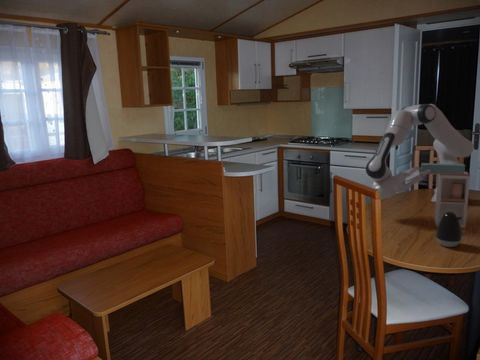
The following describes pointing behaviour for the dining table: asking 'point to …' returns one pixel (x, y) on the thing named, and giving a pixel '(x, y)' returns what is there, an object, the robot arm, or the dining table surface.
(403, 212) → the dining table surface
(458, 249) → the dining table surface
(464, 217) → the shelf unit
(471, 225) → the dining table surface
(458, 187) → the terracotta jar
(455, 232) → the black roly-poly toy
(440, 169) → the long teal rectangular block
